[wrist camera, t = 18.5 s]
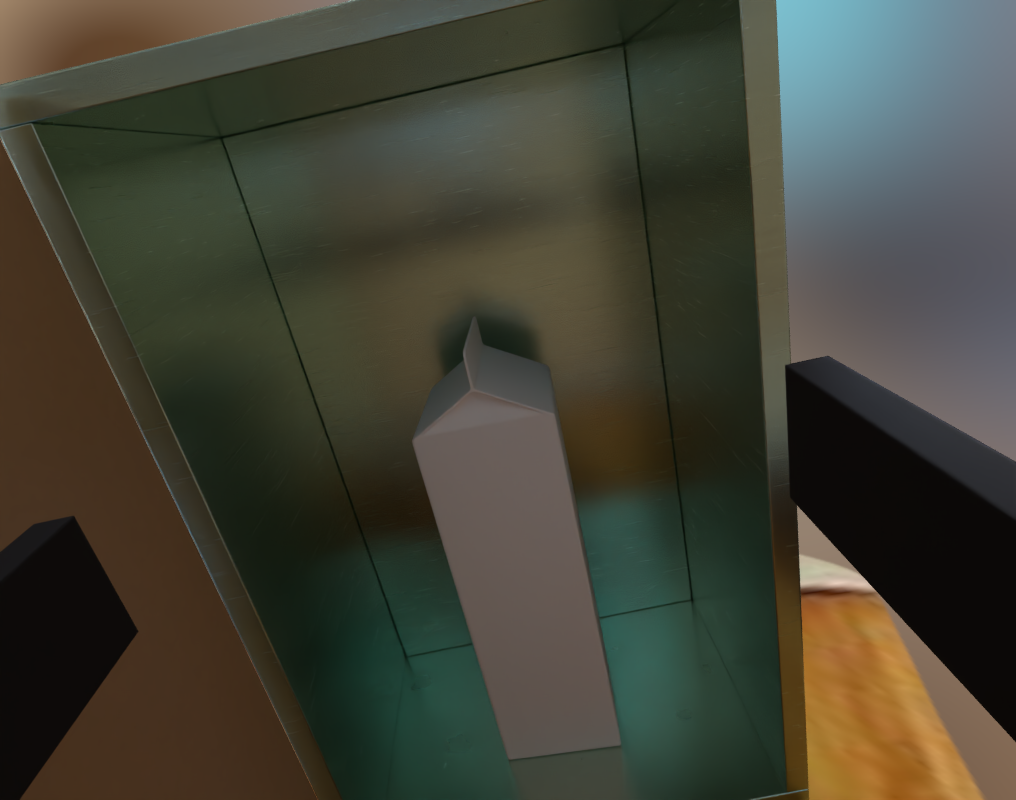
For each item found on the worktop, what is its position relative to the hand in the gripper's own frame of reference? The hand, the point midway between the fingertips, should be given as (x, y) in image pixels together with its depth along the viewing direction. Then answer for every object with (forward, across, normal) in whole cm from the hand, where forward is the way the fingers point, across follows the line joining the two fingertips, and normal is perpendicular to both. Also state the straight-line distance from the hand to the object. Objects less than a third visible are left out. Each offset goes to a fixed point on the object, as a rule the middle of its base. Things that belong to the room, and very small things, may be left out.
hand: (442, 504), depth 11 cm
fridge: (+16, 0, -24) cm, 29 cm away
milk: (+15, 0, -23) cm, 28 cm away
